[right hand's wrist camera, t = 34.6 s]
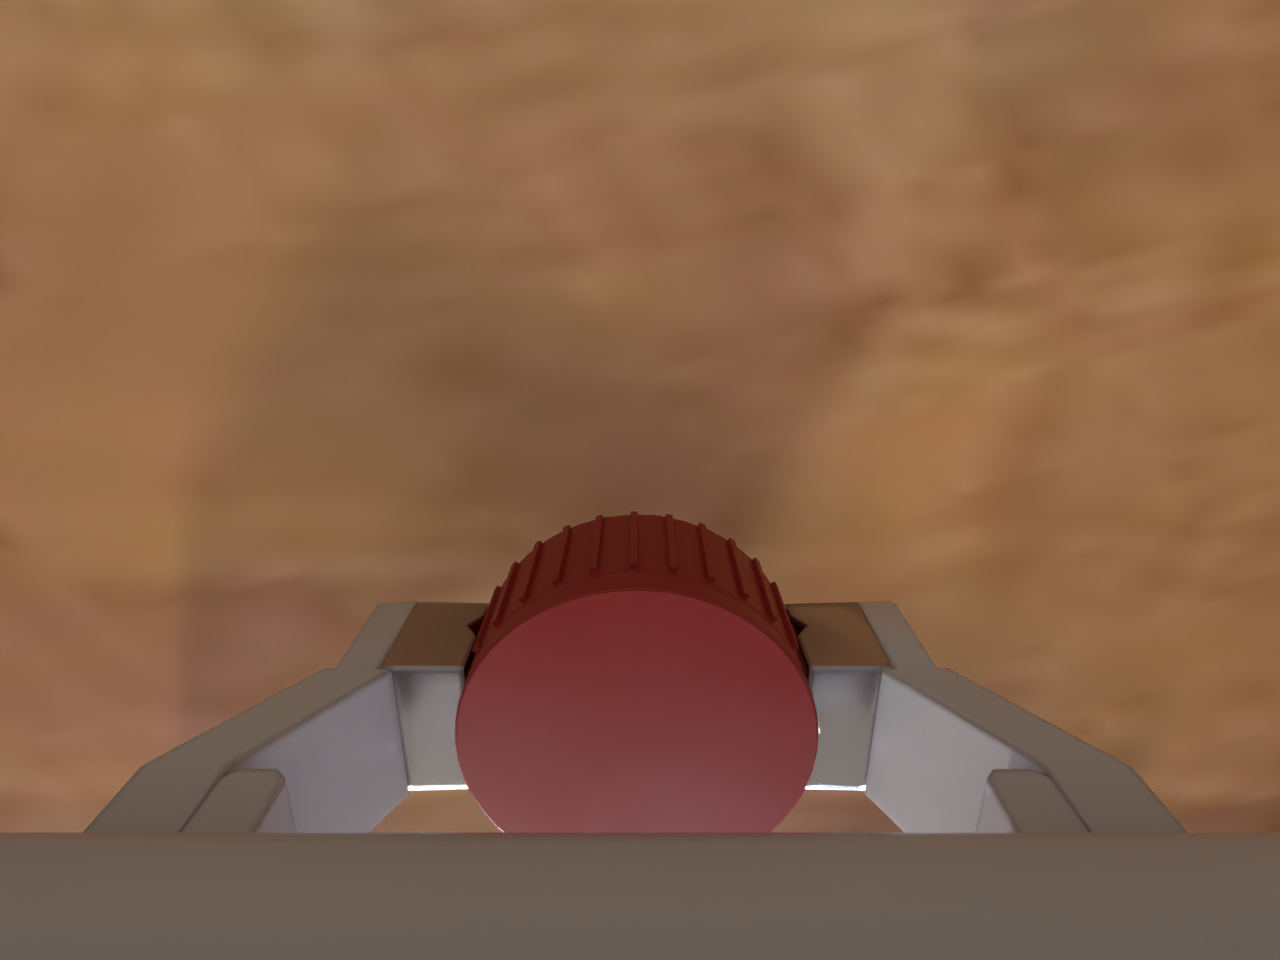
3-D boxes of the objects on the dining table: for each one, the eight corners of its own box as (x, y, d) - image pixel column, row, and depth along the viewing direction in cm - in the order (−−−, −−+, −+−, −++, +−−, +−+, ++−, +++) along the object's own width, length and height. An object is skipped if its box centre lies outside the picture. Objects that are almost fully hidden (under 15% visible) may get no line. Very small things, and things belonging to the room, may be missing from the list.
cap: (532, 792, 11) (510, 909, 9) (442, 544, 9) (395, 627, 8) (811, 741, 11) (845, 852, 9) (763, 476, 9) (793, 544, 7)
